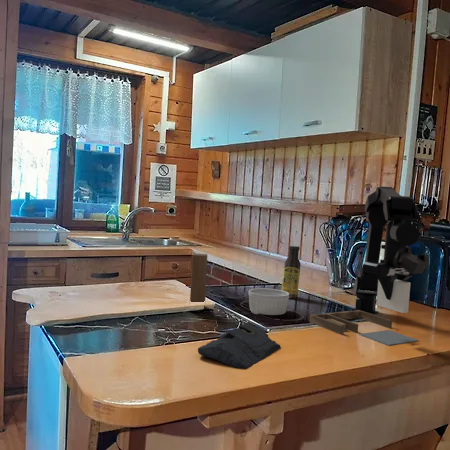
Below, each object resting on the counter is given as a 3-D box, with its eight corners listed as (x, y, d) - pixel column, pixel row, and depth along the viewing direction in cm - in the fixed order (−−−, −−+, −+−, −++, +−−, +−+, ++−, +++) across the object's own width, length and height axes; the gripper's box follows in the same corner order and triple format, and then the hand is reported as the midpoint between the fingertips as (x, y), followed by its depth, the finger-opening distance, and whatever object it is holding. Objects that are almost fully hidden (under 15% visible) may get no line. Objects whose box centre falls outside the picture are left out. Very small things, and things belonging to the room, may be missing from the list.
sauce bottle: (280, 297, 175) (283, 245, 174) (281, 294, 181) (285, 244, 180) (297, 299, 174) (301, 247, 173) (298, 296, 180) (302, 245, 179)
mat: (388, 333, 134) (389, 329, 134) (418, 343, 126) (418, 340, 126) (358, 337, 128) (359, 333, 128) (387, 348, 120) (388, 344, 120)
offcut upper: (332, 323, 138) (332, 318, 138) (345, 329, 132) (345, 324, 132) (323, 324, 136) (324, 319, 136) (337, 330, 131) (337, 324, 131)
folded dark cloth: (185, 358, 105) (186, 337, 105) (231, 335, 124) (232, 318, 124) (246, 373, 98) (247, 351, 97) (284, 347, 117) (285, 328, 117)
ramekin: (258, 306, 160) (259, 286, 159) (294, 313, 153) (295, 292, 153) (239, 313, 148) (241, 291, 148) (277, 320, 142) (279, 298, 141)
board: (381, 304, 131) (383, 276, 130) (408, 312, 123) (410, 282, 122) (376, 305, 130) (378, 276, 129) (402, 313, 122) (405, 282, 121)
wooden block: (191, 305, 155) (194, 251, 154) (204, 306, 155) (208, 252, 154) (189, 311, 146) (192, 254, 145) (203, 312, 146) (206, 255, 145)
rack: (358, 319, 149) (359, 310, 149) (391, 330, 138) (392, 320, 138) (309, 324, 139) (310, 314, 139) (340, 337, 128) (341, 326, 127)
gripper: (397, 245, 114) (392, 308, 115) (444, 245, 123) (439, 303, 124) (363, 240, 124) (358, 298, 124) (409, 241, 133) (405, 295, 134)
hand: (391, 299), depth 126 cm, fingers closed on board, 2 cm apart
